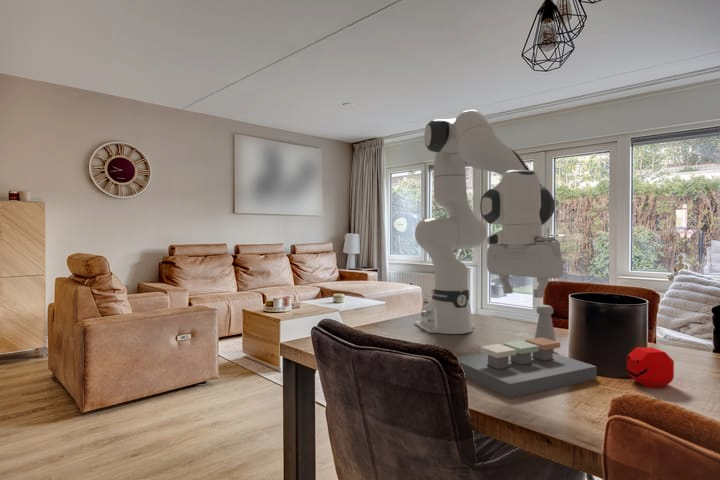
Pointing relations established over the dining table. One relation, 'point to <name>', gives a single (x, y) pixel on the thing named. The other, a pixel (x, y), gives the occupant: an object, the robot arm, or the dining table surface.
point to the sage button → (522, 351)
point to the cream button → (498, 355)
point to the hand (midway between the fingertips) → (522, 295)
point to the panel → (527, 374)
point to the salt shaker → (545, 323)
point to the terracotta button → (544, 348)
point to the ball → (650, 367)
